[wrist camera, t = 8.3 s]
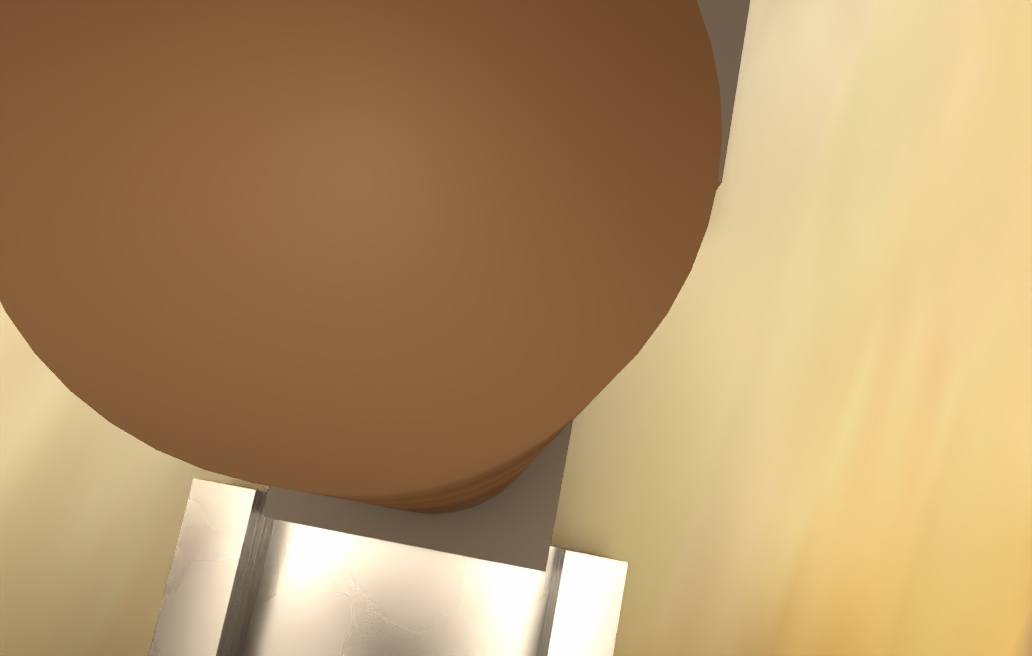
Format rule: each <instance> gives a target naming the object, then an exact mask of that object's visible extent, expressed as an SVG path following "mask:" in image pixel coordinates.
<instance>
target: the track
mask: <svg viewBox="0 0 1032 656" xmlns="http://www.w3.org/2000/svg"><path fill="white" fill-rule="evenodd" d="M267 495H268V491H263V490H258V489H253V488H248V487H243V486H238V485H232V484H227V483H221V482H215V481H208V480H202V479H196V478H193V482H192V486H191V490H190V494H189V498H188V502H187V506H186V510H185V514H184V517H183V521H182V525H181V529H180V533H179V537H178V541H177V545H176V549H175V553H174V557H173V561H172V565H171V569H170V573H169V576H168V580H167V584H166V588H165V592H164V596H163V600H162V604H161V608H160V612H159V616H158V620H157V624H156V628H155V632H154V636H153V639H152V643H151V647H150V651H149V655H148V656H613V652H614V646H615V640H616V634H617V627H618V621H619V615H620V609H621V603H622V597H623V591H624V584H625V578H626V572H627V566H628V562H624V561H620V560H616V559H612V558H608V557H603V556H598V555H593V554H587V553H582V552H577V551H572V550H567V549H562V548H557V547H551V546H550V550H549V556H548V561H547V567H546V572H543V571H538V570H533V569H528V568H523V567H517V566H512V565H507V564H502V563H497V562H492V561H487V560H481V559H476V558H471V557H466V556H461V555H456V554H451V553H445V552H440V551H435V550H430V549H425V548H420V547H414V546H409V545H404V544H399V543H394V542H389V541H384V540H378V539H373V538H368V537H363V536H358V535H353V534H348V533H342V532H337V531H332V530H327V529H322V528H317V527H312V526H306V525H301V524H296V523H291V522H286V521H281V520H275V519H270V518H265V517H262V516H263V511H264V507H265V503H266V499H267Z"/></svg>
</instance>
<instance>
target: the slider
mask: <svg viewBox="0 0 1032 656" xmlns="http://www.w3.org/2000/svg"><path fill="white" fill-rule="evenodd" d="M721 143H722V120H721V100H720V86H719V81H718V76H717V71H716V66H715V60H714V55H713V50H712V45H711V41H710V38H709V35H708V32H707V29H706V27H705V24H704V21H703V18H702V15H701V12H700V9H699V6H698V3H697V0H0V301H1V303H2V305H3V307H4V309H5V311H6V313H7V314H8V316H9V317H10V319H11V320H12V322H13V323H14V324H15V326H16V327H17V329H18V330H19V331H20V333H21V334H22V336H23V337H24V339H25V340H26V341H27V343H28V344H29V346H30V347H31V348H32V350H33V351H34V353H35V354H36V355H37V356H38V357H39V358H40V359H41V360H42V361H43V362H44V364H45V365H46V366H47V367H48V368H49V369H50V370H51V371H52V372H53V373H54V374H55V375H56V376H57V377H58V378H59V379H60V380H61V381H62V383H63V384H64V385H65V386H66V387H67V388H68V389H69V390H70V391H71V392H73V393H74V394H75V395H76V396H78V397H79V398H80V399H81V400H83V401H84V402H85V403H86V404H88V405H89V406H90V407H91V408H93V409H94V410H95V411H96V412H98V413H99V414H100V415H102V416H103V417H104V418H105V419H107V420H108V421H109V422H110V423H112V424H114V425H115V426H117V427H119V428H120V429H122V430H124V431H125V432H127V433H129V434H131V435H132V436H134V437H136V438H137V439H139V440H141V441H143V442H144V443H146V444H148V445H149V446H151V447H153V448H154V449H156V450H159V451H161V452H163V453H166V454H168V455H171V456H173V457H175V458H178V459H180V460H183V461H185V462H187V463H190V464H192V465H195V466H197V467H199V468H202V469H204V470H208V471H211V472H215V473H219V474H223V475H227V476H230V477H234V478H238V479H242V480H245V481H249V482H253V483H257V484H262V485H268V486H269V490H268V495H267V499H266V503H265V507H264V511H263V516H262V517H265V518H270V519H275V520H281V521H286V522H291V523H296V524H301V525H306V526H312V527H317V528H322V529H327V530H332V531H337V532H342V533H348V534H353V535H358V536H363V537H368V538H373V539H378V540H384V541H389V542H394V543H399V544H404V545H409V546H414V547H420V548H425V549H430V550H435V551H440V552H445V553H451V554H456V555H461V556H466V557H471V558H476V559H481V560H487V561H492V562H497V563H502V564H507V565H512V566H517V567H523V568H528V569H533V570H538V571H543V572H546V567H547V561H548V556H549V550H550V545H551V539H552V533H553V528H554V522H555V517H556V511H557V505H558V500H559V494H560V489H561V483H562V477H563V472H564V466H565V461H566V455H567V450H568V444H569V438H570V433H571V427H572V422H573V420H574V418H575V417H576V416H577V415H578V414H579V413H580V412H581V411H582V410H583V409H584V408H585V407H586V406H587V405H588V404H589V403H590V402H591V401H592V400H593V399H594V398H595V397H596V396H597V395H598V394H599V393H600V392H601V391H602V390H603V389H604V388H605V387H606V386H607V385H608V384H609V383H610V382H611V381H612V379H613V378H614V377H615V376H616V375H617V374H618V373H619V372H620V371H621V370H622V369H623V368H624V367H625V366H626V365H627V364H628V363H629V362H630V361H631V360H632V359H633V358H634V357H635V356H636V355H637V354H638V353H639V351H640V350H641V349H642V347H643V346H644V345H645V343H646V342H647V340H648V339H649V338H650V336H651V335H652V334H653V332H654V331H655V330H656V328H657V327H658V326H659V324H660V323H661V322H662V320H663V319H664V318H665V316H666V315H667V313H668V312H669V310H670V308H671V306H672V304H673V302H674V301H675V299H676V297H677V295H678V293H679V292H680V290H681V288H682V286H683V284H684V282H685V281H686V279H687V277H688V275H689V273H690V271H691V269H692V266H693V264H694V261H695V259H696V256H697V253H698V251H699V248H700V245H701V243H702V240H703V237H704V235H705V232H706V230H707V227H708V223H709V219H710V214H711V210H712V206H713V201H714V197H715V192H716V188H717V184H718V178H719V166H720V155H721Z"/></svg>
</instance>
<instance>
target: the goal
mask: <svg viewBox="0 0 1032 656" xmlns="http://www.w3.org/2000/svg"><path fill="white" fill-rule="evenodd" d="M697 3H698V6H699V9H700V12H701V15H702V18H703V21H704V24H705V27H706V29H707V32H708V35H709V38H710V41H711V45H712V50H713V55H714V60H715V66H716V71H717V76H718V81H719V86H720V100H721V120H722V143H721V155H720V166H719V178H718V184H717V188H718V187H719V186H720V184H721V183H722V177H723V171H724V164H725V158H726V152H727V145H728V139H729V132H730V126H731V120H732V113H733V107H734V100H735V94H736V87H737V81H738V75H739V68H740V62H741V55H742V49H743V43H744V36H745V30H746V23H747V17H748V11H749V4H750V0H697ZM717 188H716V190H717Z"/></svg>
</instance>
